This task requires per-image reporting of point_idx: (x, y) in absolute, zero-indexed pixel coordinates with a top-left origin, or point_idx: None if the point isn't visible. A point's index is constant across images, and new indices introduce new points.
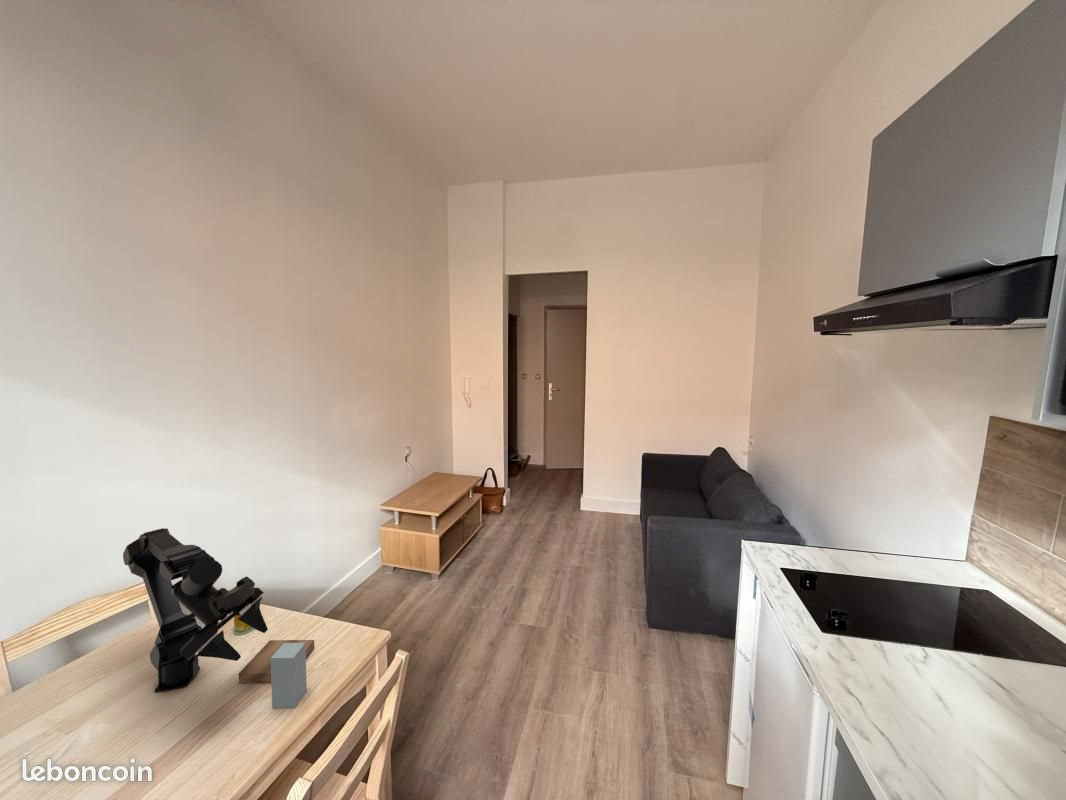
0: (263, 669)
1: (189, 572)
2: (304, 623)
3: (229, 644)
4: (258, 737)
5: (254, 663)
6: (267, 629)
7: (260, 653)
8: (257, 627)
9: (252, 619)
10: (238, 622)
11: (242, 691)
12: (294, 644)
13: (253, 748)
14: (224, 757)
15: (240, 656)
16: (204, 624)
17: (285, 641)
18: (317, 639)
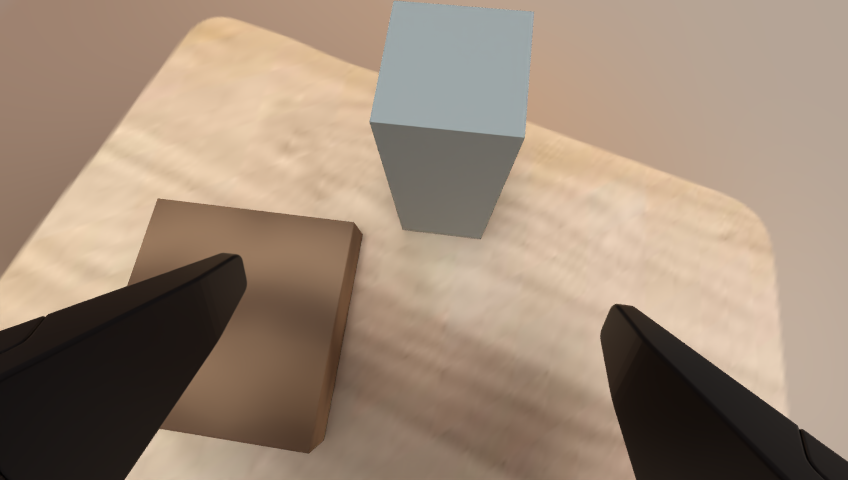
0: (307, 341)
1: None
2: None
3: (752, 445)
4: (595, 229)
5: (252, 406)
6: (228, 254)
7: (180, 414)
8: (190, 351)
9: (68, 442)
10: None
11: (375, 396)
12: (401, 52)
13: (635, 225)
14: (666, 299)
15: (621, 304)
16: None
17: None
18: (127, 220)
